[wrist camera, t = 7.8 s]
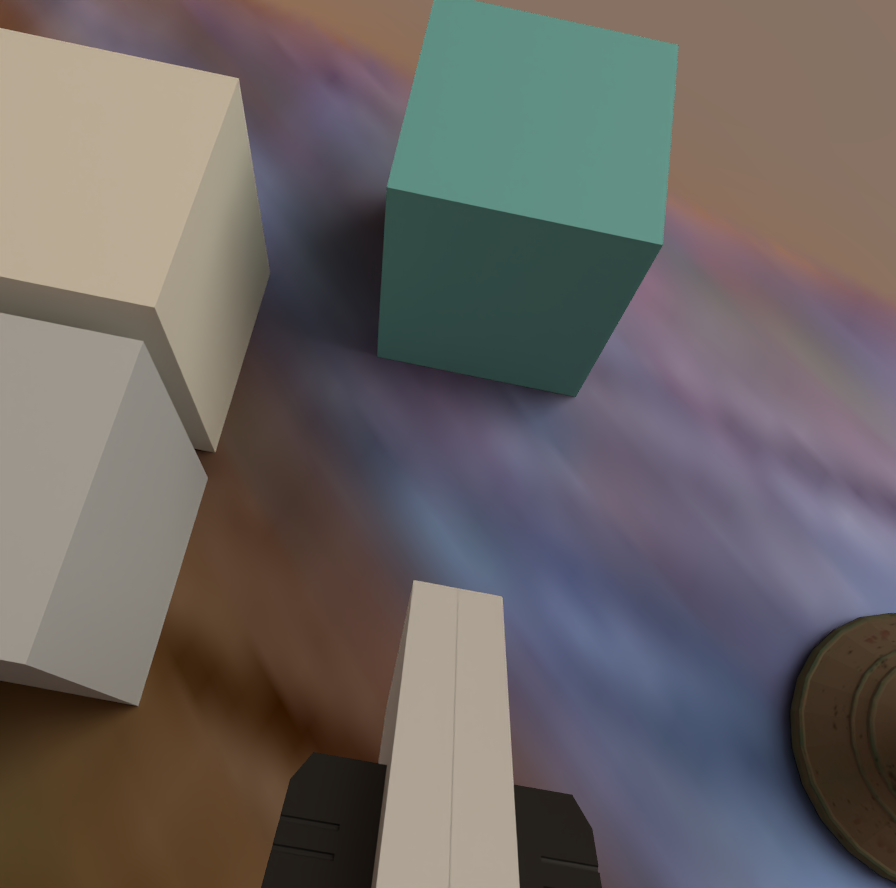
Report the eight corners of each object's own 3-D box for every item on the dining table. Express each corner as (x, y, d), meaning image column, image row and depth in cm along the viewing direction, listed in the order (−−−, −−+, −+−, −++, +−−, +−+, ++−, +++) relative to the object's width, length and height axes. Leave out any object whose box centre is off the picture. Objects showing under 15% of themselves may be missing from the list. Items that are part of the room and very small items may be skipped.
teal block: (575, 397, 33) (662, 244, 23) (377, 356, 32) (386, 187, 23) (595, 235, 36) (678, 44, 27) (414, 197, 36) (435, -9, 26)
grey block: (138, 706, 27) (25, 664, 17) (-110, 660, 26) (-357, 593, 17) (208, 478, 30) (143, 341, 21) (-14, 435, 30) (-179, 276, 20)
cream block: (215, 453, 30) (154, 307, 21) (-3, 410, 30) (-161, 244, 21) (270, 273, 33) (238, 78, 24) (73, 233, 33) (-35, 20, 24)
